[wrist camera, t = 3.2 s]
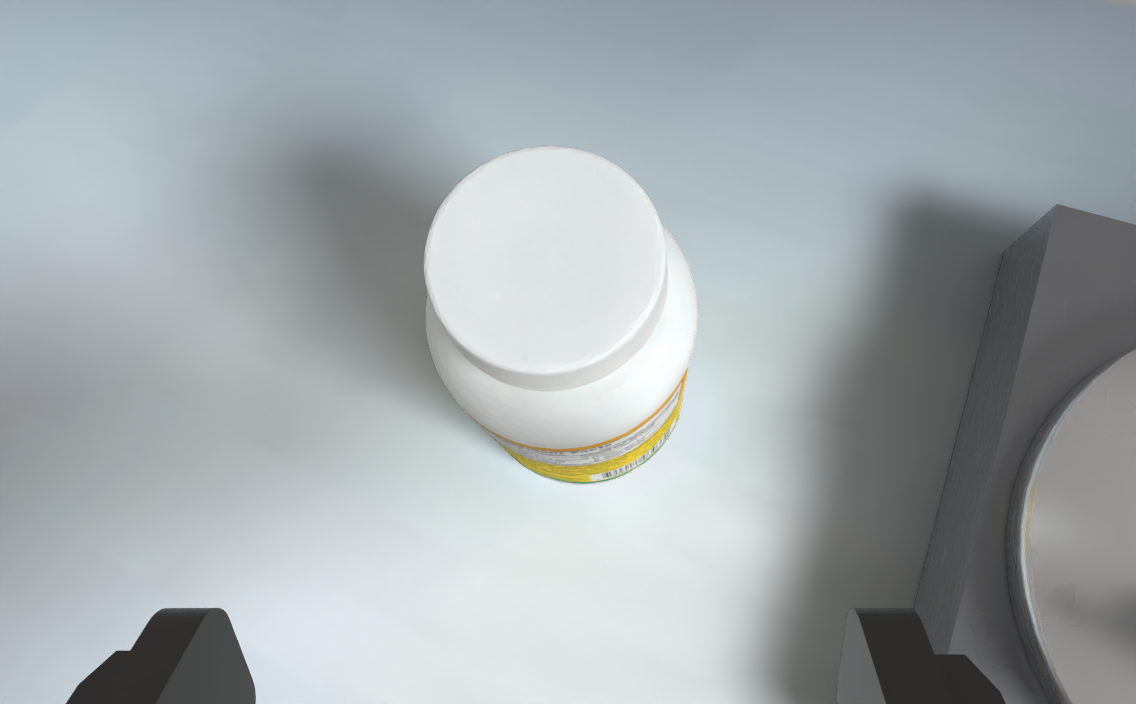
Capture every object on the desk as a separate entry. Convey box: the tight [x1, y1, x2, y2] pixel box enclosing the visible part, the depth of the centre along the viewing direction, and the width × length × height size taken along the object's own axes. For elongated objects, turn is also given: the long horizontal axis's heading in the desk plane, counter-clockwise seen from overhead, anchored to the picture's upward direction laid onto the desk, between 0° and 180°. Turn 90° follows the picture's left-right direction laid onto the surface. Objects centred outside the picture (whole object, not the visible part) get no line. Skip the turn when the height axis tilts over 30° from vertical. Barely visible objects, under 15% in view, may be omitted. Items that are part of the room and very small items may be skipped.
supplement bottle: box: [423, 146, 698, 485], centre depth 18 cm, size 5×5×10 cm
